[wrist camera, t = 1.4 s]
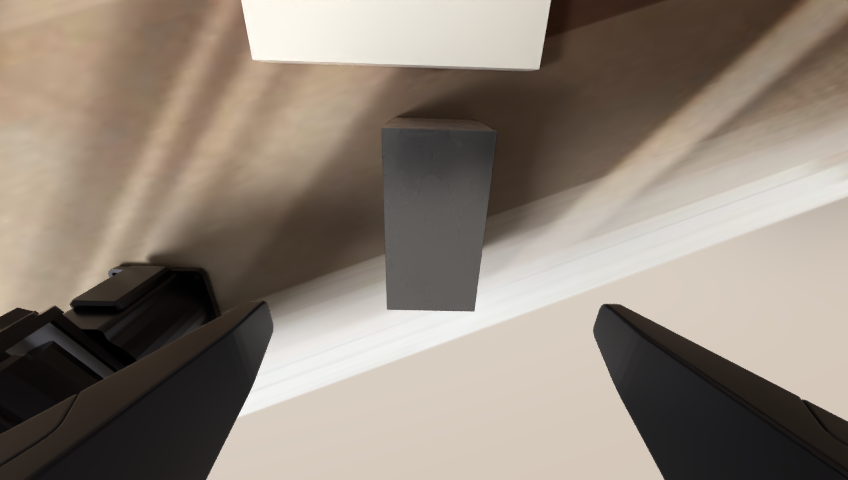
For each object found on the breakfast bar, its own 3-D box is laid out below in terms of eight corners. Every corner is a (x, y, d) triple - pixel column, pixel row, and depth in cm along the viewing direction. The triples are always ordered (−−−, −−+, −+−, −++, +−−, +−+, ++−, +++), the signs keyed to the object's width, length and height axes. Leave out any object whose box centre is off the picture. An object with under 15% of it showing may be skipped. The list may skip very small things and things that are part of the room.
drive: (461, 256, 21) (474, 311, 16) (396, 254, 21) (387, 309, 16) (474, 119, 17) (497, 131, 12) (394, 117, 17) (381, 128, 12)
